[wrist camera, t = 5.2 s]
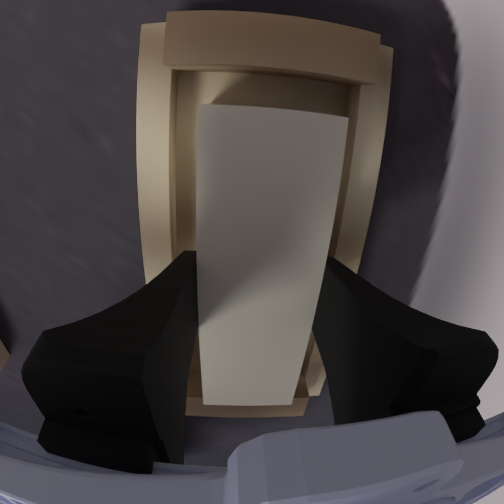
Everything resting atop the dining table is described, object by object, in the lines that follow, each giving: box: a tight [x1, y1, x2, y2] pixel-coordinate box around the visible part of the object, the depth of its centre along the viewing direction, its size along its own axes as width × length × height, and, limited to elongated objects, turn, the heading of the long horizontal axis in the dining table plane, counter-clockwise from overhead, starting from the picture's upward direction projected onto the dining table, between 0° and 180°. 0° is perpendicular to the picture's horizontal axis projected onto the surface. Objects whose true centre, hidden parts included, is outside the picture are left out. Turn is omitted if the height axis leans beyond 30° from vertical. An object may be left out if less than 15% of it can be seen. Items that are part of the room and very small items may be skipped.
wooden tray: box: [136, 10, 393, 417], centre depth 13 cm, size 18×9×4 cm, turn 176°
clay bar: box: [196, 103, 349, 406], centre depth 12 cm, size 12×4×4 cm, turn 176°
